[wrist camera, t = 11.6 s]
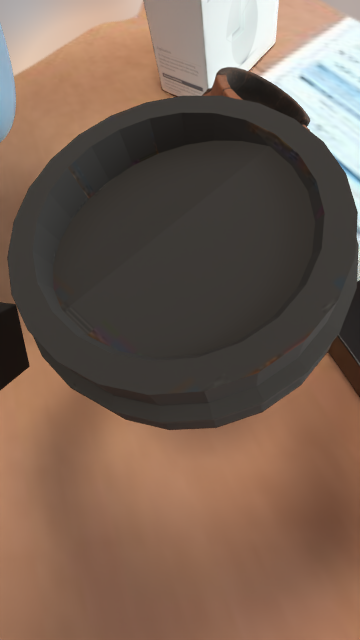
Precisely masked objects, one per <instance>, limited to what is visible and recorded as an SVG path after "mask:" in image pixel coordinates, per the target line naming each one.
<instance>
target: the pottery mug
mask: <svg viewBox="0 0 360 640" xmlns="http://www.w3.org/2000/svg"><path fill="white" fill-rule="evenodd" d="M202 96H226V97H231V98H236V99H241V100H246V101H251V102H256V103H260V104H262V105H264V106H267V107H269V108H271V109H273V110H276V111H278V112H280V113H282V114H285V115H287V116H289V117H291V118H294V119H295V120H296V121H298V122H299V123H300V124H301V125H303V126H304V127H305V128H306V129H308V128H307V126H308V124H309V122H310V118H309V117H308V115H307V114H306V112H305V111H304V110H303V108H302V107H301V106H300V105H299V104H298V103H297V102H296V101H295V100H294V99H293V98H292V97H290V96H289V95H288V94H287V93H285V92H284V91H283V90H281V89H280V88H278V87H277V86H276V85H274V84H272V83H271V82H269V81H267V80H266V79H264V78H262V77H260V76H258V75H256V74H254V73H251V72H249V71H246V70H244V69H240V68H236V67H226V68H222V69H220V70H219V71H218V72H217V73H216V77H215V80H214V83H213V86H212V88H209V89H207V90H206V92H205V93H204V94H203V95H202ZM308 130H309V129H308ZM309 131H310V130H309Z"/></svg>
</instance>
